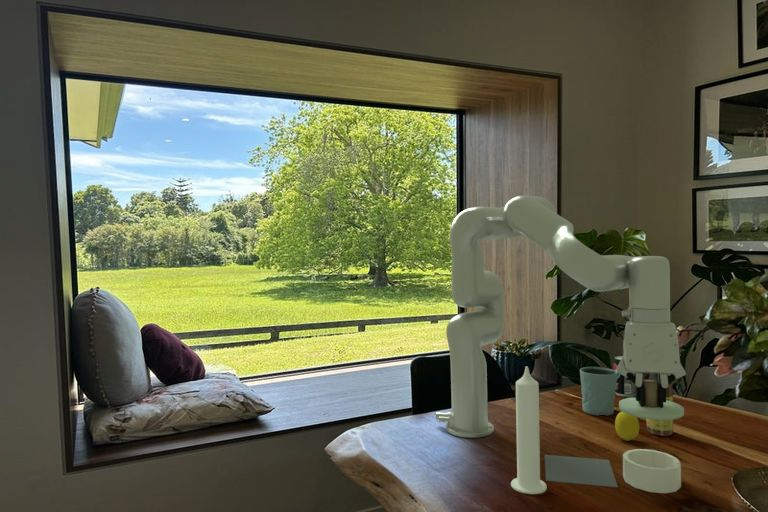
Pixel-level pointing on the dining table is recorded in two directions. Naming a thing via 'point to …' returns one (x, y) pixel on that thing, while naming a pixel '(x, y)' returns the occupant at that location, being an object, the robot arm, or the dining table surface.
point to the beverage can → (623, 382)
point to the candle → (528, 437)
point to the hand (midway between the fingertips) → (650, 404)
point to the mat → (579, 470)
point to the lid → (651, 405)
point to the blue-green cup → (598, 390)
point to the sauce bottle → (661, 425)
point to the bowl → (652, 470)
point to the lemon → (626, 426)
